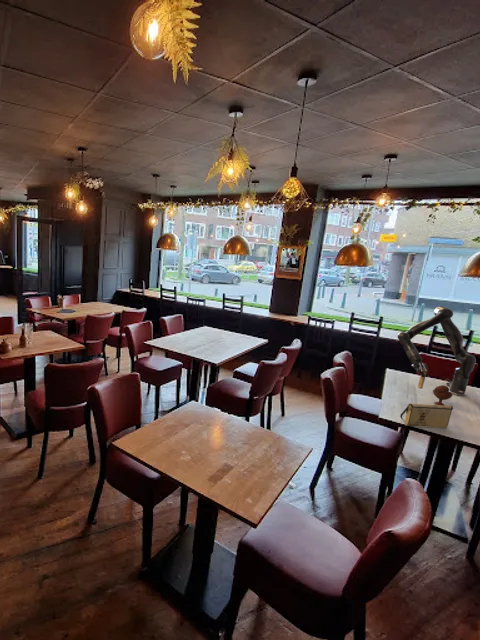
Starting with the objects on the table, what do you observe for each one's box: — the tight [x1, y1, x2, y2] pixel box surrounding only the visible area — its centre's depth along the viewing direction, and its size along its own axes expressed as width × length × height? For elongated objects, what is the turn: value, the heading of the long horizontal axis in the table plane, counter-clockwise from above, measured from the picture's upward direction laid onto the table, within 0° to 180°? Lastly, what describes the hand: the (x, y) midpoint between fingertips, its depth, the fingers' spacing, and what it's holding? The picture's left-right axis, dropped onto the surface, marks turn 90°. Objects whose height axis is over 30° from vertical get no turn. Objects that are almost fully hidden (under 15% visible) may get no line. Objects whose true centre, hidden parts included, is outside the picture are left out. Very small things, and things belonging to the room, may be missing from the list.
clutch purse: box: [399, 403, 454, 429], centre depth 211 cm, size 30×7×15 cm, turn 92°
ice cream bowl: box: [432, 384, 453, 405], centre depth 245 cm, size 11×11×15 cm
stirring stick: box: [417, 369, 428, 390], centre depth 256 cm, size 3×3×14 cm
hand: (425, 376), depth 254 cm, fingers closed on stirring stick, 3 cm apart
